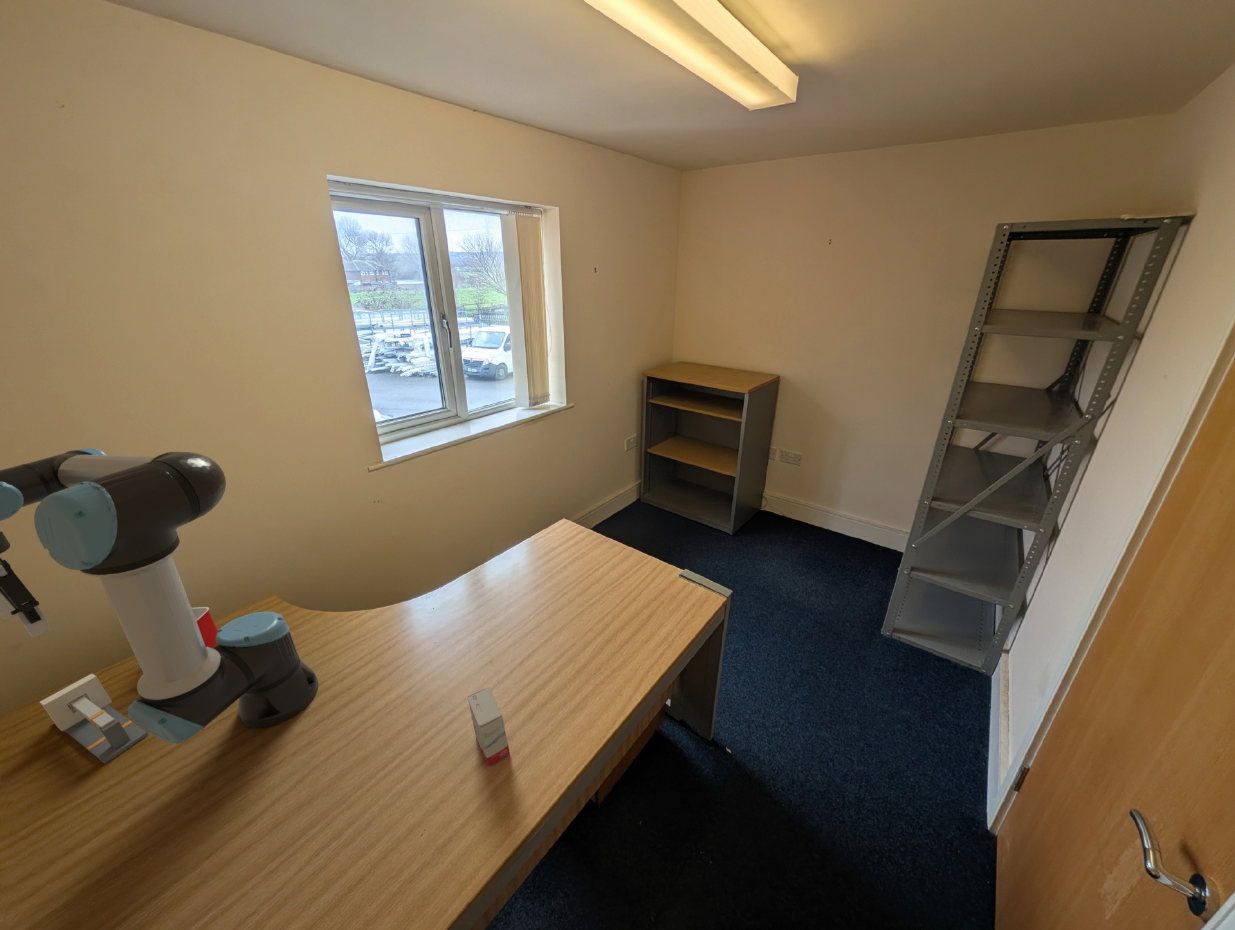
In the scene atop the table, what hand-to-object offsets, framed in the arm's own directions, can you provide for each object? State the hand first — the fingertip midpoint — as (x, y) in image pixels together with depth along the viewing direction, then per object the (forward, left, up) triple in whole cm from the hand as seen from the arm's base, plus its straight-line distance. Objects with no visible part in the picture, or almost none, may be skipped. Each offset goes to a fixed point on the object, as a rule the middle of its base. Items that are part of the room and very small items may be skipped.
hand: (27, 624), depth 96 cm
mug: (-3, -20, -25) cm, 32 cm away
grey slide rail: (-12, +1, -25) cm, 27 cm away
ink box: (-94, -31, -25) cm, 102 cm away
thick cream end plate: (-7, +1, -23) cm, 24 cm away
